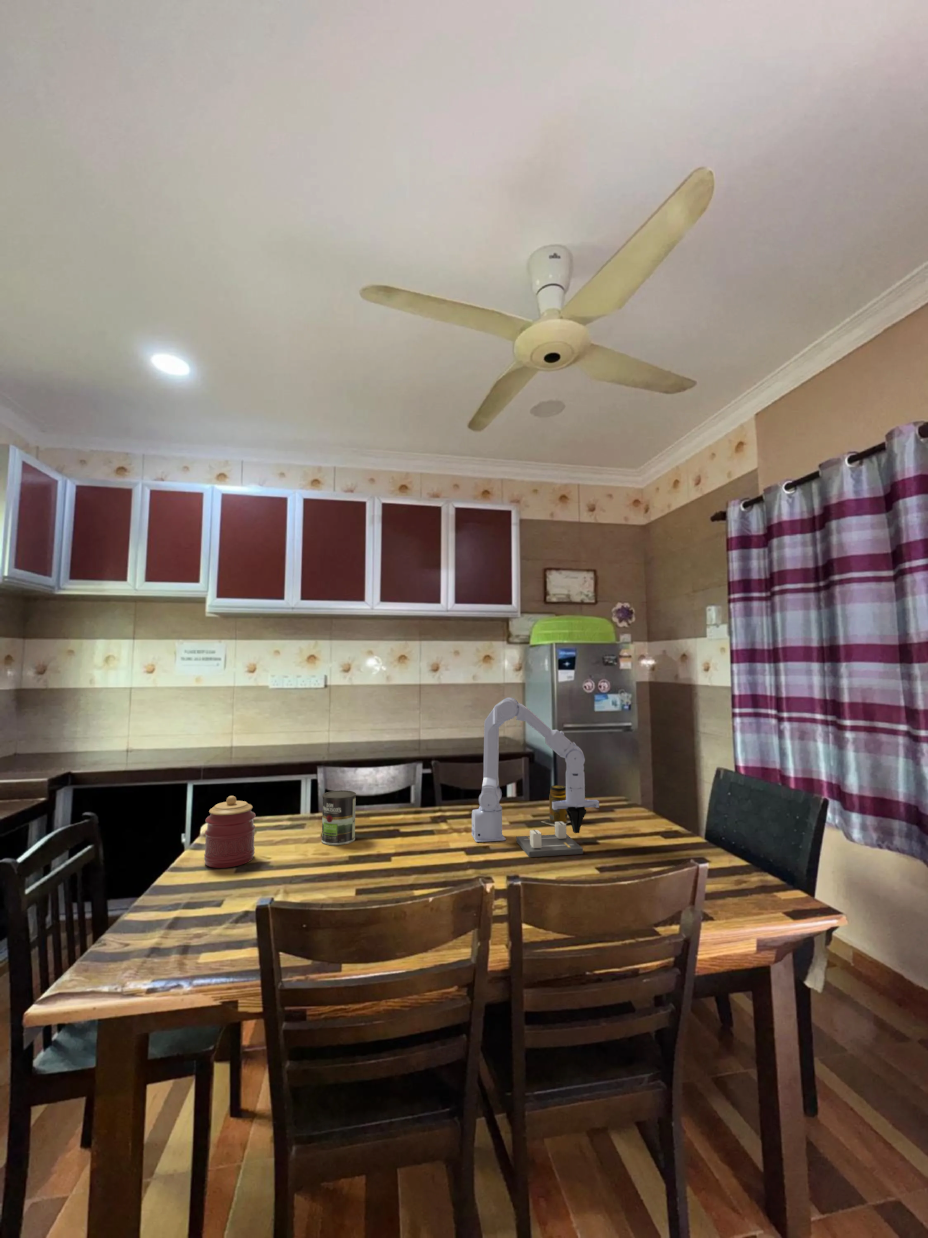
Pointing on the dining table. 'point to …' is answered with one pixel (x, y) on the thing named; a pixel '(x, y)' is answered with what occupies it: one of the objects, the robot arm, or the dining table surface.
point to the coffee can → (338, 817)
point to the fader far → (560, 830)
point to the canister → (229, 834)
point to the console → (550, 846)
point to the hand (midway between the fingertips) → (576, 832)
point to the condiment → (560, 814)
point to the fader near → (535, 839)
